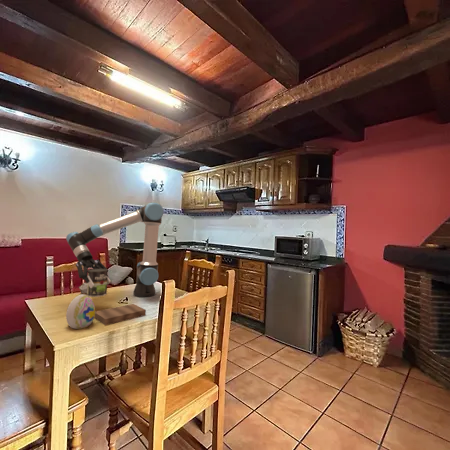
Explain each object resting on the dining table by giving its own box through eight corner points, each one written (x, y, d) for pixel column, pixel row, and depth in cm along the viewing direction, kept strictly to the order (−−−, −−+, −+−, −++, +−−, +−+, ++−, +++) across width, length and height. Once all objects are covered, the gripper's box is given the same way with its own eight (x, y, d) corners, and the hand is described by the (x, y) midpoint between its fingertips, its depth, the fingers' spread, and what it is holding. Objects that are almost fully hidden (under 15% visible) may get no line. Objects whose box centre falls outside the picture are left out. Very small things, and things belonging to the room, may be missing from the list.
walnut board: (132, 308, 152) (133, 303, 152) (145, 315, 143) (145, 309, 143) (93, 317, 136) (94, 311, 136) (105, 325, 127) (105, 319, 127)
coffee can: (110, 294, 147) (111, 270, 147) (92, 298, 139) (93, 272, 139) (101, 291, 154) (102, 267, 154) (83, 294, 145) (84, 269, 145)
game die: (82, 298, 180) (79, 285, 184) (95, 293, 183) (92, 281, 187) (78, 295, 172) (75, 282, 176) (91, 290, 175) (88, 277, 179)
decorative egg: (80, 332, 117) (82, 299, 118) (59, 328, 121) (60, 296, 121) (100, 323, 129) (101, 293, 129) (80, 319, 132) (81, 290, 133)
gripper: (96, 256, 163) (113, 284, 156) (60, 260, 143) (78, 293, 136) (102, 249, 161) (120, 277, 154) (67, 251, 140) (85, 284, 134)
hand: (101, 284), depth 145 cm, fingers closed on coffee can, 10 cm apart
